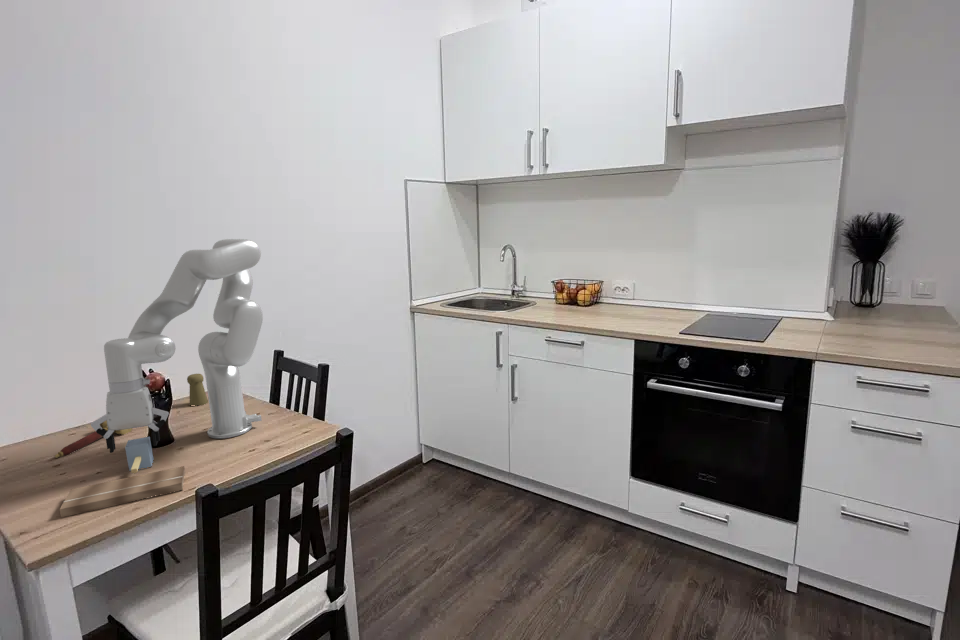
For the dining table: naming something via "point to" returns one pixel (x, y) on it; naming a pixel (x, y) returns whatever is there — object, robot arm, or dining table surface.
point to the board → (122, 491)
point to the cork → (197, 390)
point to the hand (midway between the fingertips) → (134, 447)
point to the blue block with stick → (139, 454)
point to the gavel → (88, 440)
